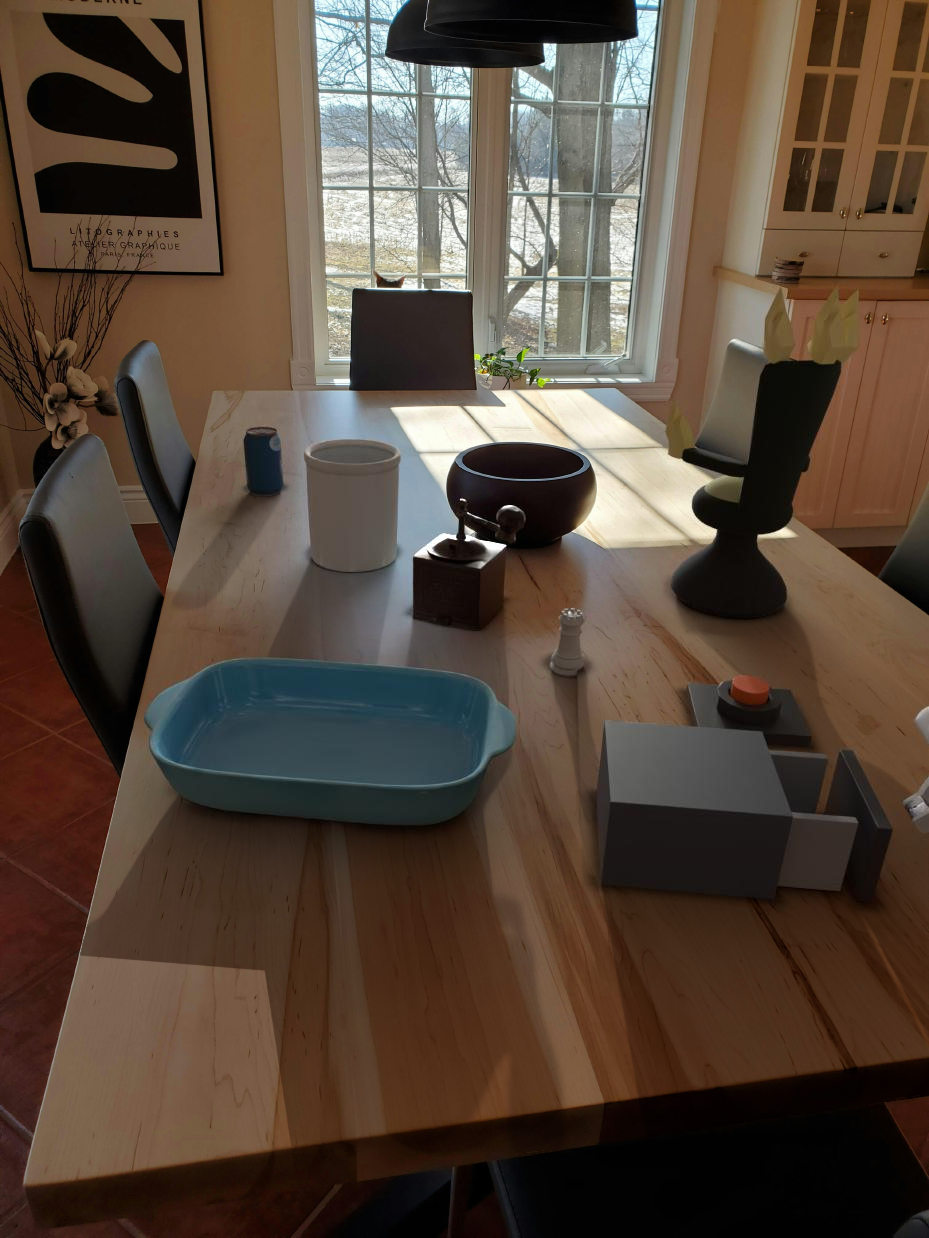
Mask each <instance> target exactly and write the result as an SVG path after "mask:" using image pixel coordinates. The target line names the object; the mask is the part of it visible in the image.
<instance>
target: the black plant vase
mask: <svg viewBox="0 0 929 1238" xmlns="http://www.w3.org/2000/svg"><path fill="white" fill-rule="evenodd" d="M859 290H860V289H857V290H856V291H855V292H853V294H851V296H850V297H848V298H847V300H846V301H844V303H843V304H842V305H841V306H840V297H839V296H840V295H839V288H838V286H836V287H835V288H834V289H833V291H832V292H831V293H830V295H829V296H828V297H827V299H826V301H825V302H824V304H823V305H822V306H821V308H820V309H819V310H818V312H817V314H816V315H815V317H814V319H813V329H812V335H811V338H810V340H809V341H808V343H807V344H806V345H807V350H808V354H809V356H810V358H811V359H808V360H807V359H805V360H804V359H803V360H789V359H790V357H791V354H792V352H793V350H794V349H795V347H796V341H795V334H794V329H793V324H792V322H791V320H790V317H789V315H788V312H787V308H786V303H785V298H784V294H783V289H782V286H780V287H779V289H778V291H777V293H776V294H775V297H774V298H773V301H772V303H771V305H770V307H769V309H768V311H767V313H766V315H765V317H764V330H763V341H762V344H761V345H762V351H763V355H764V357H765V358H766V360H767V362H768V363H766V364H764V367H763V369H762V371H761V372H760V375H759V378H758V379H759V380H758V386H757V391H756V400H755V406H754V414H753V421H752V422H753V423H752V430H751V436H750V443H749V450H748V455H747V461H746V462H744V461H740V460H737V459H734V458H732V457H728V456H725V455H722V454H718V453H715V452H712V451H709V450H705V449H702V448H699V447H696V446H695V445H696V444H695V441H694V435H693V431H692V430H693V429H692V426H691V424H690V422H689V421H688V420H687V418H686V417H685V415H684V413H682V412H681V410H680V409H679V407H678V405H677V402H676V401H675V400H674V399H672V400H671V403H670V408H669V412H668V417H667V421H666V426H665V431H664V432H665V435H666V438H667V441H668V451H667V455H668V456H670V457H672V458H674V459H678V460H682V461H683V462H685V463H687V464H690V465H693V466H695V467H699V468H702V469H706V470H708V471H711V472H714V473H717V474H720V475H722V476H719V477H717V478H715V479H713V480H711V481H709V482H708V483H707V484H705V485H703V486H701V487H700V488H699V489H697V490H696V492H695V493H694V494H693V496H692V499H691V510H692V512H693V515H694V516H695V518H696V519H697V520H698V521H700V522H701V523H702V524H703V525H705V526H707V527H709V528H712V529H714V530H716V533H715V537H714V538H713V540H712V542H711V543H709V544H708V545H707V546H705V547H704V548H702V549H700V550H698V551H696V552H695V553H693V554H691V555H690V556H688V557H687V558H686V559H685V560H684V561H682V562H681V563H680V564H679V566H677V567H676V568H675V570H674V571H673V573H672V575H671V578H670V582H669V585H670V588H671V590H672V592H673V593H674V595H675V596H676V598H677V599H678V600H680V601H682V602H683V604H685V605H686V606H689V607H691V608H693V609H695V610H697V611H699V612H702V613H707V614H710V615H713V616H718V617H726V618H731V619H752V618H761V617H765V616H768V615H770V614H774V613H776V612H777V611H778V610H779V609H780V608H781V607H783V606H784V605H785V604H786V603H787V601H788V600H787V599H788V589H787V585H786V582H785V581H784V578H783V576H782V575H781V573H780V572H779V570H778V569H777V568H776V567H775V565H774V564H773V563H771V561H770V560H769V559H768V558H767V557H766V556H765V555H764V554H763V552H762V551H761V550H760V548H759V545H758V537H759V535H760V536H761V535H768V534H769V535H770V534H773V533H776V532H779V531H781V530H783V529H784V528H785V527H787V526H788V524H790V522H791V520H792V518H793V515H794V505H793V501H794V499H795V495H796V493H797V490H798V486H799V483H800V479H801V476H802V473H806V472H808V470H809V468H810V463H811V457H810V453H811V451H812V449H813V446H814V443H815V441H816V439H817V436H818V434H819V431H820V429H821V426H822V423H823V421H824V419H825V416H826V414H827V411H828V409H829V407H830V404H831V402H832V399H833V397H834V395H835V392H836V389H837V385H838V382H839V380H840V377H841V374H842V365H844V364H845V363H846V361H847V360H848V359H849V358H850V357H851V356H852V355H853V354H854V353H855V352H856V351H858V349H859V345H860V344H859V343H860V340H859V339H860V312H859V311H858V307H859V301H860V291H859Z"/></svg>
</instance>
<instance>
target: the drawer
mask: <svg viewBox="0 0 929 1238" xmlns="http://www.w3.org/2000/svg"><path fill="white" fill-rule="evenodd" d="M769 752H770V754H771V757H772V760H773V763H774V765H775V768H776V771H777V774H778V776H779V779H780V782H781V785H782V788H783V790H784V793H785V796H786V799H787V801H788V804H789V807H790V810H791V812H792V815H793V819H792V824H791V828H790V833H789V837H788V841H787V846H786V850H785V854H784V859H783V863H782V868H781V872H780V876H779V881H778V885H777V887H785V888H786V887H787V888H798V889H811V890H820V891H830V892H831V891H833V892H841V889H842V885H843V882H844V877H845V875H846V877H847V879H848V881H849V884H850V886H851V888H852V890H853V893H854V896H855V898H856V900H857V902H862V903H873V900H874V896H875V893H876V890H877V886H878V883H879V879H880V876H881V873H882V869H883V866H884V862H885V858H886V856H887V853H888V849H889V845H890V842H891V839H892V834H893V831H894V828H893V827H892V826H893V825H892V824H891V822H890V820H889V818H888V815H887V814H886V812H885V810H884V808H883V806H882V805H881V802H880V800H879V799H878V796H877V794H876V793H875V791H874V789H873V787H872V785H871V783H870V781H869V779H868V777H867V776H866V775H867V774H866V773H865V771H864V769H863V767H862V766H861V763H860V761H859V759H858V758H857V755H856V754H855V752H854V750H853V749H841V748H840V749H839V751H838V755H837V759H836V764H835V766H834V771H833V774H832V775H833V776H832V779H831V783H830V788H829V790H828V791H829V792H828V795H827V800H826V804H825V807H824V812H823V814H817V813H816V812H817V809H818V805H819V801H820V797H821V792H822V788H823V784H824V780H825V776H826V773H827V768H828V764H829V757H828V754H827V753H815V752H814V753H813V752H804V751H803V752H800V751H787V750H776V749H769Z"/></svg>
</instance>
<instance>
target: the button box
mask: <svg viewBox="0 0 929 1238" xmlns="http://www.w3.org/2000/svg"><path fill="white" fill-rule="evenodd" d="M732 682H733V679H728V680H724V681H722V682H720V684H715V683H701V682H697V683H696V682H686V689H685V695H686V699H687V704H688V708H689V712H690V715H691V720H692V724H693V727H705V728H719V729H733V730H746V731H760V732H763V735H764V738H765V741H766V743H767V745H772V746H773V745H774V746H775V745H776V746H787V747H799V748H810V746H811V742H812V737H813V736H812V734H811V731H810V729H809V727H808V724H807V723H806V721H805V718H804V716H803V713H802V712H801V709H800V707H799V705H798V702H797V701H796V698H795V696H794V694H793V692H792V690H791V689H786V688H773V687H771V686H770V689H769V694H768V699H767V702H766V704H762V705H747V704H744V703H741V702H738V701H736V700H735V699H733V698H732V697H731V696H730V693H731V687H732Z"/></svg>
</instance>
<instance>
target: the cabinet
mask: <svg viewBox="0 0 929 1238" xmlns="http://www.w3.org/2000/svg"><path fill="white" fill-rule="evenodd" d="M601 738H602V739H601V748H600V749H601V750H600V758H599V768H598V775H597V776H598V777H597V786H596V793H595V795H596V796H595V797H596V814H597V815H596V816H597V817H596V818H597V819H596V820H597V837H598V853H599V855H598V856H599V873H600V874H599V875H600V885H602V886H613V887H614V886H615V887H626V888H636V889H646V890H647V889H649V890H660V891H669V892H670V891H672V892H682V893H692V894H693V893H694V894H703V895H714V896H715V895H716V896H728V897H738V898H739V897H740V898H749V899H761V900H772V901H773V900H775V898H776V894H777V889H778V886H777V885H778V881H779V876H780V872H781V868H782V863H783V859H784V854H785V850H786V846H787V841H788V837H789V833H790V828H791V824H792V819H793V815H792V812H791V810H790V807H789V804H788V801H787V799H786V796H785V793H784V790H783V788H782V785H781V782H780V779H779V776H778V774H777V771H776V768H775V765H774V763H773V760H772V757H771V754H770V752H769V750H770V749H769V746H768V744H767V743H766V741H765V738H764V735H763V732H760V731H746V730H733V729H719V728H705V727H694V726H690V725H677V724H663V723H650V722H636V721H625V720H624V721H623V720H609V719H604V721H603V729H602V737H601Z"/></svg>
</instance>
